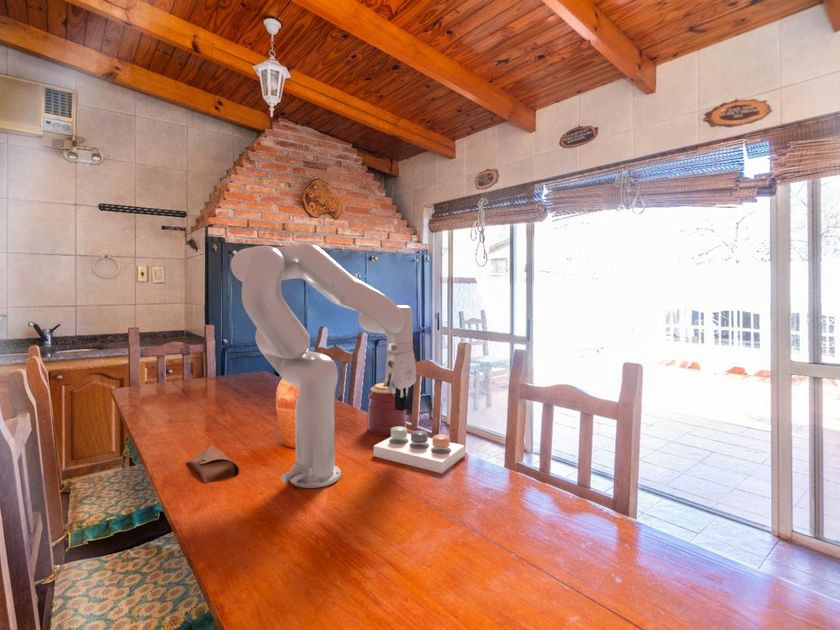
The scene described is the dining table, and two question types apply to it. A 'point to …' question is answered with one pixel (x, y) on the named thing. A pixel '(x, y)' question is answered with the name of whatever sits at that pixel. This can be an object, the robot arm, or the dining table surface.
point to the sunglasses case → (213, 465)
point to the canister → (383, 411)
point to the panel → (419, 453)
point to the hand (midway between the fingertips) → (400, 409)
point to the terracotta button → (441, 441)
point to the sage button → (398, 432)
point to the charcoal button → (419, 436)
